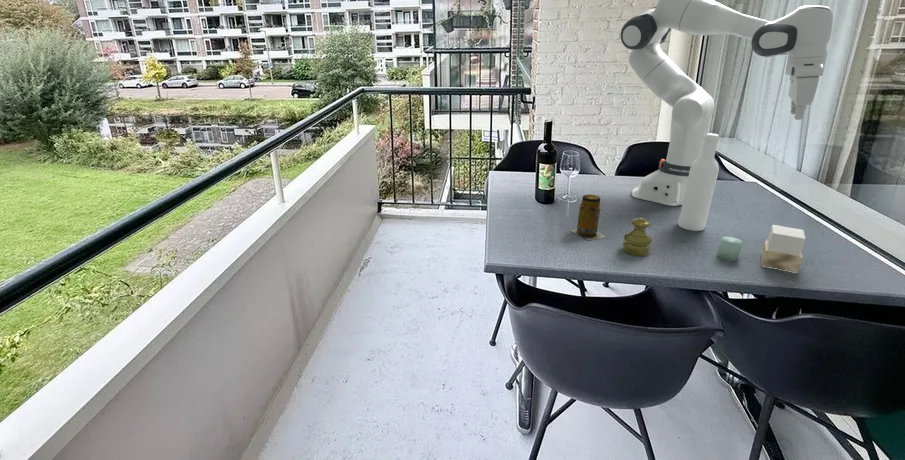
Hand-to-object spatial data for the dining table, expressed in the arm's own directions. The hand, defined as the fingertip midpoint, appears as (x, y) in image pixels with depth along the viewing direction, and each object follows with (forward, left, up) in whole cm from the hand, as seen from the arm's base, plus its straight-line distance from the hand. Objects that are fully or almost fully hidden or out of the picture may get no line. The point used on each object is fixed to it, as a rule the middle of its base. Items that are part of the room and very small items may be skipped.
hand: (796, 116), depth 135 cm
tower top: (+3, -30, -31) cm, 43 cm away
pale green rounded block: (-9, -32, -36) cm, 48 cm away
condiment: (-47, -37, -36) cm, 70 cm away
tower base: (+3, -30, -36) cm, 47 cm away
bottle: (-20, -13, -36) cm, 43 cm away
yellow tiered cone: (-32, -42, -36) cm, 64 cm away
